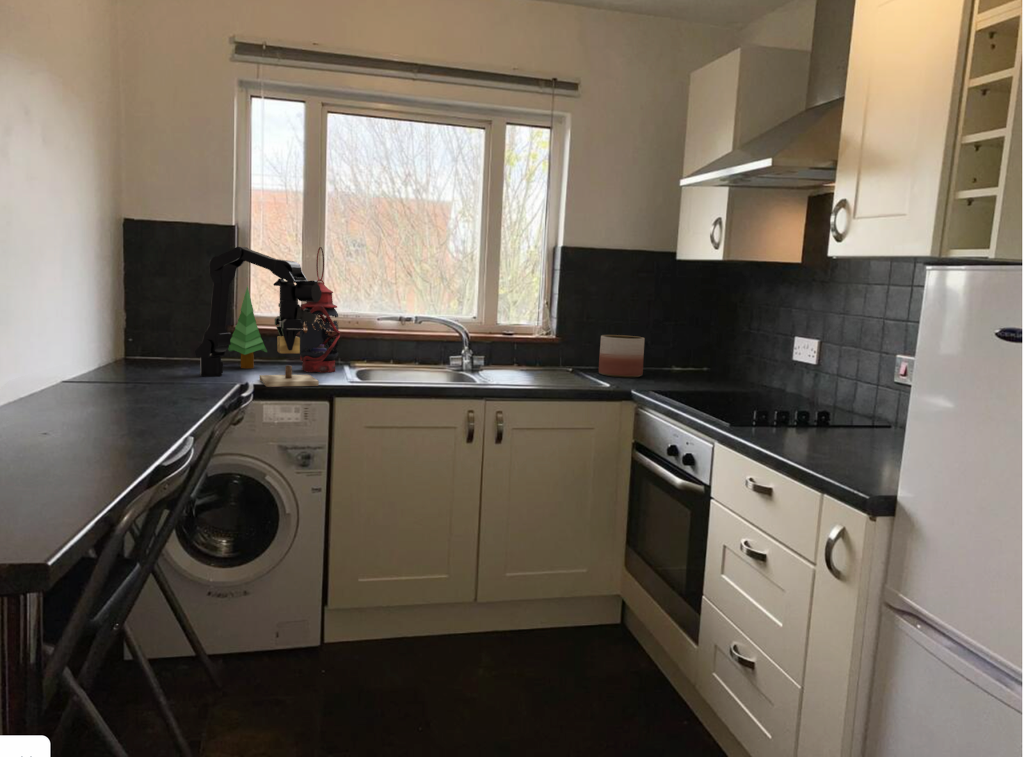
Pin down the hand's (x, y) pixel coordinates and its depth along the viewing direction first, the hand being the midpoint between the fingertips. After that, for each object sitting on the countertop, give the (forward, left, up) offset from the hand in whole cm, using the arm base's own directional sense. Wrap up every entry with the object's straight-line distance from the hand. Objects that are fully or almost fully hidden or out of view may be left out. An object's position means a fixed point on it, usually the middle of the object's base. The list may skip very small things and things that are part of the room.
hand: (288, 349), depth 248 cm
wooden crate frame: (0, 0, -1) cm, 1 cm away
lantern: (+16, +30, -11) cm, 36 cm away
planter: (+132, +6, -11) cm, 133 cm away
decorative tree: (-8, +41, -11) cm, 43 cm away
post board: (0, 0, -11) cm, 11 cm away
